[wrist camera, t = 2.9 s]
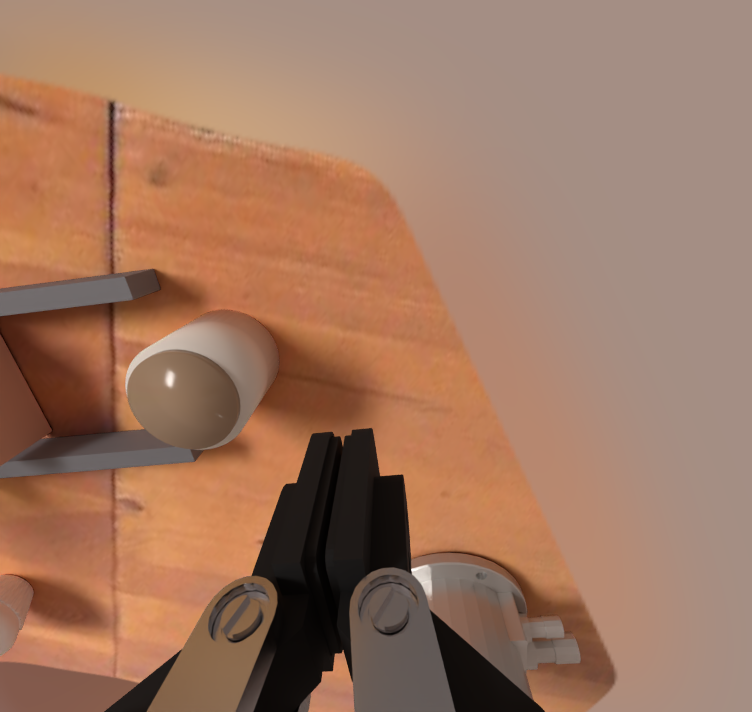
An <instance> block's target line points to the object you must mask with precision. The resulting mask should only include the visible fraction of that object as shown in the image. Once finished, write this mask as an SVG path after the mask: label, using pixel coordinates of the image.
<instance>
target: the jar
mask: <svg viewBox="0 0 752 712" xmlns="http://www.w3.org/2000/svg"><path fill="white" fill-rule="evenodd" d="M279 363H280V361H279V352H278V348H277V345H276V343H275V341H274V339H273V337H272V336H271V334H270V333H269V332H268V330H267V329H266V328H265V327H264V326H263V325H262V324H261V323H259V322H258V321H257V320H255V319H254V318H252V317H250V316H248V315H246V314H244V313H241V312H238V311H233V310H215V311H211V312H208V313H205V314H203V315H201V316H200V317H198V318H196V319H195V320H193V321H191V322H189V323H188V324H186V325H184V326H183V327H181V328H179V329H178V330H176V331H174V332H173V333H171V334H169V335H167V336H166V337H164V338H162V339H161V340H159V341H157V342H156V343H154V344H152V345H151V346H149V347H147V348H146V349H144V350H143V351H141V352H140V353H139V354H138V355H137V356H136V357H135V358H134V359H133V361H132V362H131V364H130V366H129V368H128V371H127V375H126V383H125V384H126V393H127V398H128V402H129V405H130V408H131V410H132V412H133V414H134V416H135V417H136V419H137V420H138V422H139V423H140V424H141V425H142V426H143V427H144V428H145V429H146V430H147V431H148V432H149V433H150V434H152V435H153V436H154V437H156V438H157V439H159V440H161V441H163V442H165V443H167V444H170V445H172V446H175V447H179V448H184V449H196V450H206V449H213V448H216V447H220V446H222V445H225V444H227V443H228V442H230V441H232V440H233V439H234V438H235V437H236V436H237V435H238V434H239V433H240V432H241V430H242V429H243V427H244V426H245V424H246V423H247V421H248V420H249V418H250V417H251V415H252V414H253V412H254V411H255V409H256V408H257V406H258V404H259V403H260V401H261V400H262V398H263V397H264V395H265V394H266V392H267V391H268V389H269V388H270V386H271V385H272V383H273V382H274V380H275V378H276V376H277V374H278V370H279Z"/></svg>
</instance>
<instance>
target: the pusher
mask: <svg viewBox="0 0 752 712" xmlns="http://www.w3.org/2000/svg"><path fill="white" fill-rule="evenodd" d="M50 432H52V429H51V428H50V426H49V424H48V422H47V420H46V418H45V416H44V415H43V413H42V411H41V409H40V407H39V405H38V403H37V402H36V400H35V398H34V396H33V394H32V392H31V390H30V389H29V387H28V385H27V383H26V381H25V379H24V377H23V375H22V374H21V372H20V370H19V368H18V366H17V364H16V362H15V361H14V359H13V357H12V355H11V353H10V351H9V349H8V348H7V346H6V344H5V342H4V340H3V338H2V336H1V334H0V466H1V465H3V464H4V463H6V462H7V461H9V460H10V459H12V458H13V457H15V456H16V455H18V454H19V453H21V452H22V451H24V450H25V449H27V448H28V447H30V446H31V445H32V444H34V443H35V442H37V441H38V440H40V439H41V438H43V437H44V436H46V435H47V434H49V433H50Z"/></svg>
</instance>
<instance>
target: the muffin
mask: <svg viewBox="0 0 752 712" xmlns="http://www.w3.org/2000/svg"><path fill="white" fill-rule="evenodd" d="M33 595H34V591H33V588H32V586H31V585H30V583H28V582H27V581H25V580H24V579H22V578H20V577H18V576H15V575H11V574H10V575H7V574H6V575H0V656H1V655H3V654H4V653H6V652H7V651H8V650H9V649H10V648H11V647H12V646H13V644H14V643H15V641H16V638H17V635H18V633H19V630H22V627H23V625H24V622H25V619H26V616H27V613H28V610H29V607H30V604H31V601H32V598H33Z"/></svg>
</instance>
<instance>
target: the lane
mask: <svg viewBox="0 0 752 712" xmlns="http://www.w3.org/2000/svg"><path fill="white" fill-rule="evenodd" d="M158 290H161V289H160V286H159V283H158V280H157V277H156V274H155V271H154V269H148V270H141V271H133V272H125V273H117V274H110V275H102V276H94V277H87V278H79V279H71V280H64V281H56V282H48V283H40V284H33V285H25V286H17V287H10V288H2V289H0V316H6V315H14V314H22V313H30V312H38V311H46V310H54V309H62V308H70V307H79V306H87V305H95V304H103V303H111V302H119V301H127V300H134V299H137V298H139V297H142V296H145V295H147V294H150V293H153V292H155V291H158ZM202 452H203V450H196V449H184V448H179V447H175V446H172V445H170V444H167V443H165V442H163V441H161V440H159V439H157V438H156V437H154V436H153V435H152V434H150V433H149V432H148V431H147V430H146V429H143V430H132V431H122V432H111V433H100V434H90V435H79V436H68V437H58V438H47V439H40V440H38V441H37V442H35V443H34V444H32V445H31V446H30V447H28V448H27V449H25V450H24V451H22V452H21V453H19V454H18V455H16V456H15V457H13V458H12V459H10V460H9V461H7V462H6V463H4V464H3V465H1V466H0V478H9V477H21V476H33V475H44V474H56V473H68V472H80V471H91V470H103V469H115V468H127V467H138V466H150V465H162V464H174V463H185V462H195V461H196V460H197V458H198V457H199V456H200V454H201V453H202Z"/></svg>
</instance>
